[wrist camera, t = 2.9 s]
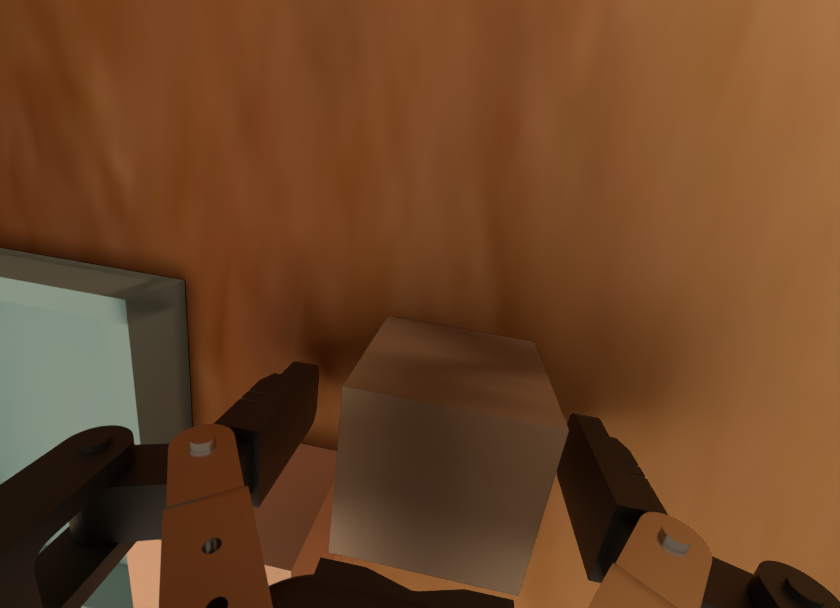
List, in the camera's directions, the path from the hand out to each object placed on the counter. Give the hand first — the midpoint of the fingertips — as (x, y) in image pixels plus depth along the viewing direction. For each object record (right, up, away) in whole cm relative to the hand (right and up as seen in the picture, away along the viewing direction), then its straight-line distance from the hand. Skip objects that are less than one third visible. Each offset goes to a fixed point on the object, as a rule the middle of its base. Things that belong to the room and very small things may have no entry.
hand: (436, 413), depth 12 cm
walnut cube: (0, 0, +2) cm, 2 cm away
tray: (-15, -2, +4) cm, 16 cm away
